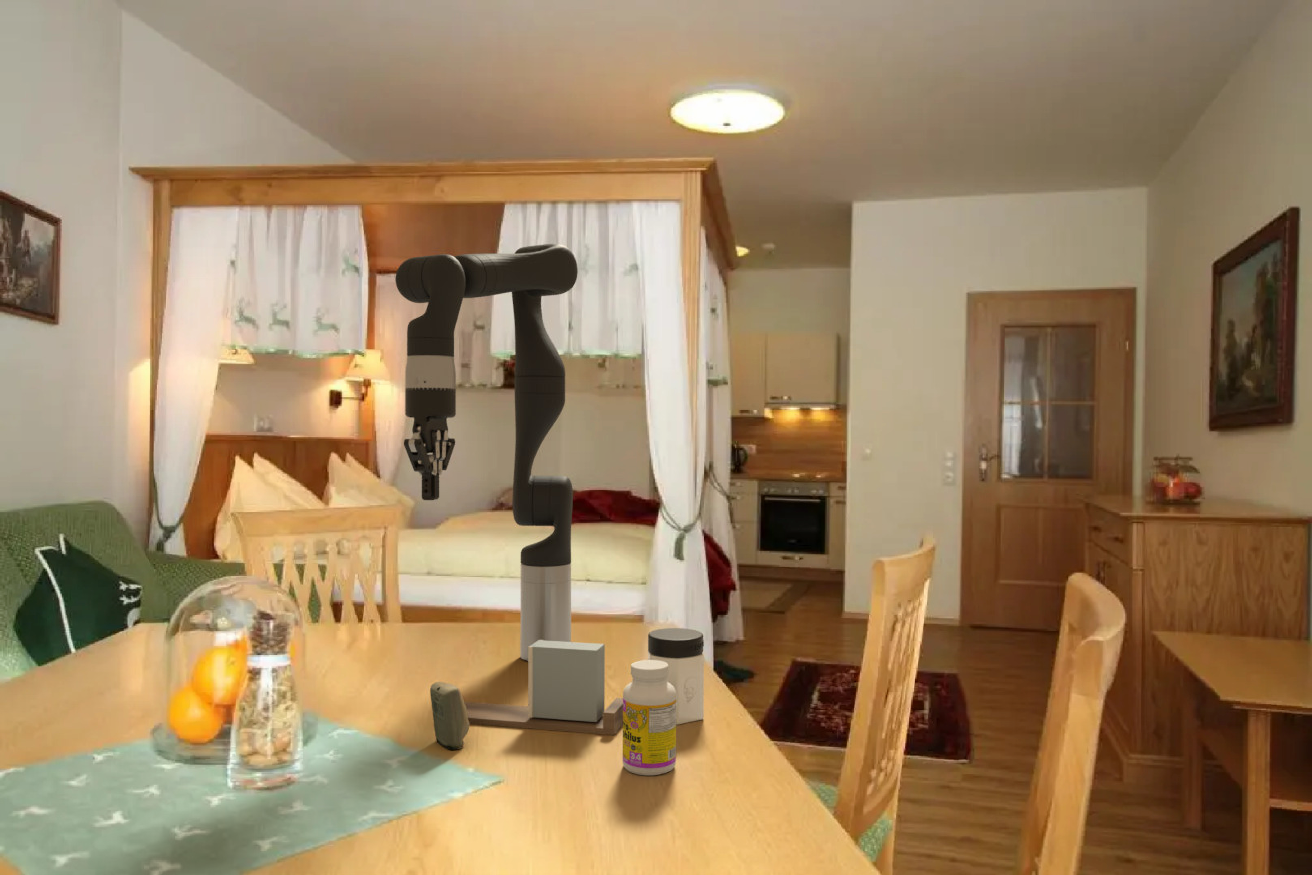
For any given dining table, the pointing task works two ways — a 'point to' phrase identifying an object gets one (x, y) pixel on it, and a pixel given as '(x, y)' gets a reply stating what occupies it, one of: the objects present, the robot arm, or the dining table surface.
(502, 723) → the rail
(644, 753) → the supplement bottle
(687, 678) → the jar
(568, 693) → the grey square block
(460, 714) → the beige rounded block
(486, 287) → the robot arm
